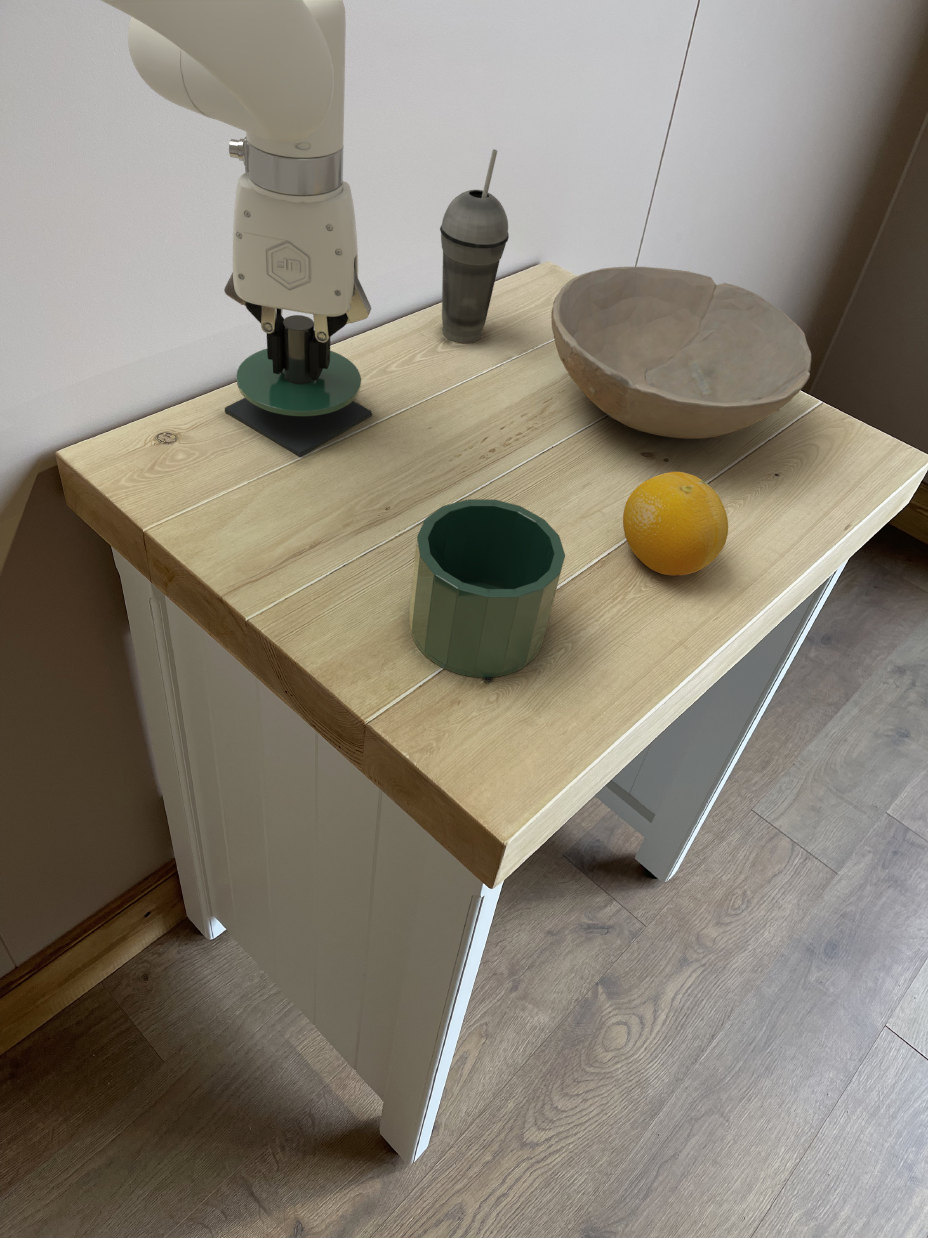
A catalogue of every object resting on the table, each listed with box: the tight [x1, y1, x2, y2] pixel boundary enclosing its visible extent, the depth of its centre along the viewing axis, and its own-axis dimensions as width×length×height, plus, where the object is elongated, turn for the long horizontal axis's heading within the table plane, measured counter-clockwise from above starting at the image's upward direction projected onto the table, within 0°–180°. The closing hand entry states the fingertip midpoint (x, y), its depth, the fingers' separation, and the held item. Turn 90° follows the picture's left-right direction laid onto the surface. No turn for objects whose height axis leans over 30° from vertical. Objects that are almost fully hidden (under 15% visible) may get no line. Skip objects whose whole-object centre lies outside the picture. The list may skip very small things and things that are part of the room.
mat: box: [224, 397, 373, 458], centre depth 90 cm, size 10×10×1 cm
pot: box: [408, 498, 566, 679], centre depth 69 cm, size 11×11×8 cm
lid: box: [235, 314, 362, 416], centre depth 85 cm, size 12×12×7 cm
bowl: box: [550, 266, 812, 439], centre depth 94 cm, size 26×26×10 cm
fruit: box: [622, 471, 729, 576], centre depth 78 cm, size 9×8×8 cm
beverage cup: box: [439, 149, 510, 344], centre depth 97 cm, size 7×7×20 cm
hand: (299, 368), depth 86 cm, fingers closed on lid, 2 cm apart
